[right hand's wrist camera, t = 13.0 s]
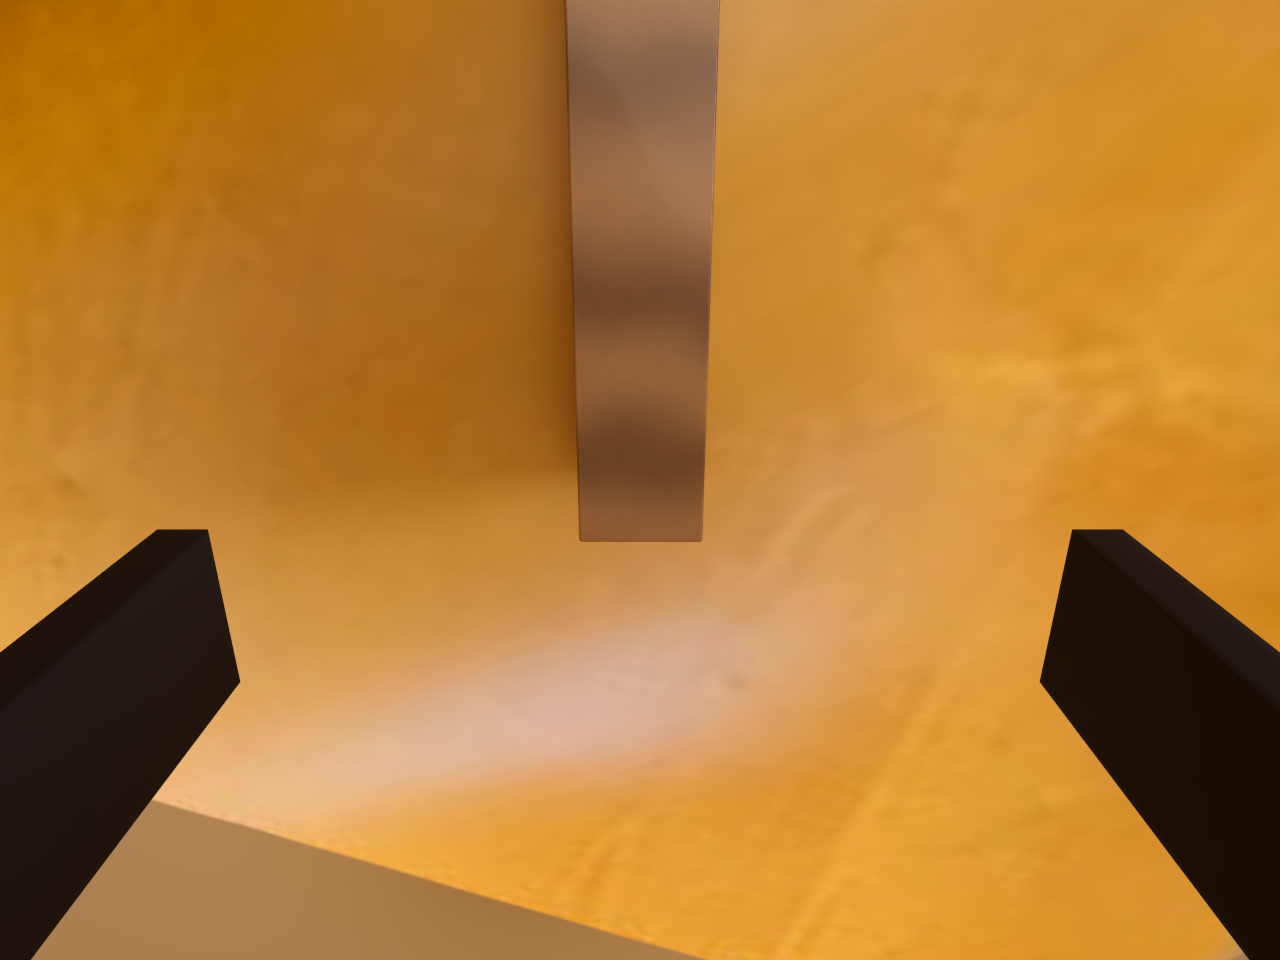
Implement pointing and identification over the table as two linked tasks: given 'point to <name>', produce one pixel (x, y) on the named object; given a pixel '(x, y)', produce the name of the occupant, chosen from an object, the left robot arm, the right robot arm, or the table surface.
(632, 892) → the table surface
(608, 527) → the beam
